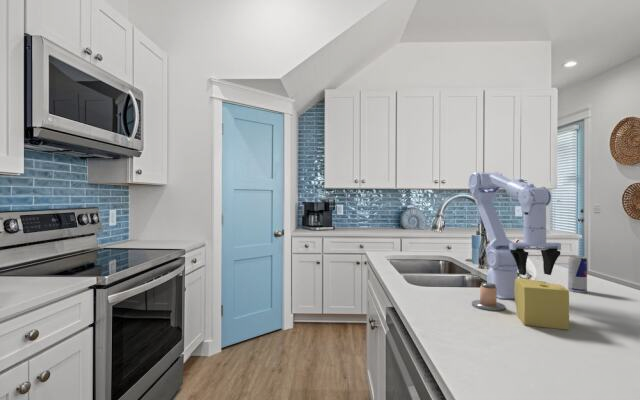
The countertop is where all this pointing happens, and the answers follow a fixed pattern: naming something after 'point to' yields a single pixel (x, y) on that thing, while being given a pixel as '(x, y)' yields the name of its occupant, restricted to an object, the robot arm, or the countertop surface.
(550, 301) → the cheese
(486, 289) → the spice jar
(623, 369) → the countertop surface
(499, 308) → the coaster
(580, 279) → the energy drink
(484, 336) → the countertop surface
